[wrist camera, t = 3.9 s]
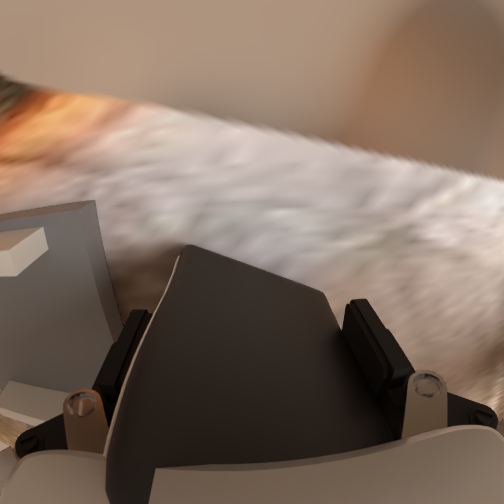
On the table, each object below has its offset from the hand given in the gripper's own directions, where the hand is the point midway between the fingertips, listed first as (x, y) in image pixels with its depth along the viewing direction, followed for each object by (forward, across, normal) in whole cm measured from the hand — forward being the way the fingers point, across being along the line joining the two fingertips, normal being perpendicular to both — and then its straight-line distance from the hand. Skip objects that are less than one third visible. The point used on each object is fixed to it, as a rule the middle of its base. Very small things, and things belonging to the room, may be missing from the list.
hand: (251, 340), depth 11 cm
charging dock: (+3, +12, +6) cm, 14 cm away
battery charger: (+3, 0, 0) cm, 3 cm away
